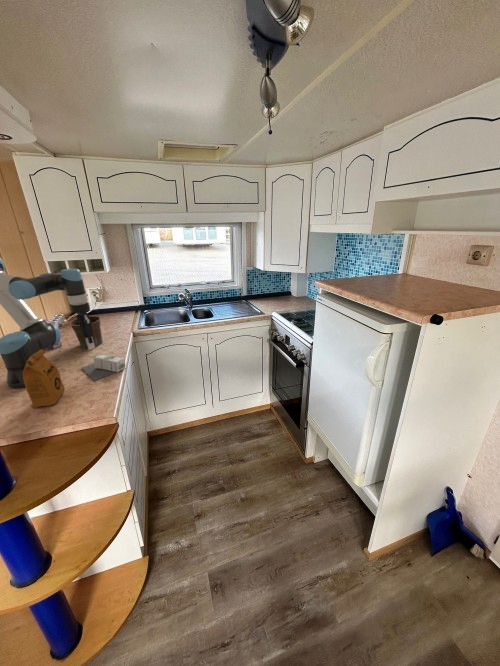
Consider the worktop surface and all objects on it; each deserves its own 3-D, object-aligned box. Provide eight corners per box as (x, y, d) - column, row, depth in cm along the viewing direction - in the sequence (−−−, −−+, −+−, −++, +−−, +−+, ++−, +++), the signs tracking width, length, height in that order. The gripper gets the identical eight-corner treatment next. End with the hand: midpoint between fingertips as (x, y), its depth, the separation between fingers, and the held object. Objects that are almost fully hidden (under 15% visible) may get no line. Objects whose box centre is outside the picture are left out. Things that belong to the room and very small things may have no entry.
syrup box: (93, 367, 138) (118, 372, 135) (93, 357, 136) (117, 362, 133) (102, 363, 143) (125, 368, 140) (101, 353, 142) (125, 358, 139)
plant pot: (90, 351, 159) (83, 326, 153) (70, 348, 164) (63, 323, 158) (111, 340, 173) (106, 317, 167) (92, 337, 178) (86, 314, 172)
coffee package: (70, 390, 122) (55, 346, 114) (55, 407, 111) (38, 360, 103) (46, 392, 121) (30, 348, 113) (29, 409, 110) (10, 362, 101)
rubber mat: (94, 381, 129) (94, 380, 129) (81, 368, 140) (81, 367, 140) (115, 372, 136) (115, 371, 135) (101, 361, 147) (101, 360, 147)
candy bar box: (62, 346, 167) (54, 321, 160) (53, 349, 163) (45, 324, 156) (52, 343, 171) (44, 318, 165) (43, 346, 167) (35, 321, 161)
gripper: (93, 303, 123) (104, 349, 132) (83, 298, 131) (94, 342, 140) (74, 307, 118) (88, 355, 127) (65, 302, 126) (79, 347, 135)
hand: (91, 348), depth 134 cm, fingers closed
